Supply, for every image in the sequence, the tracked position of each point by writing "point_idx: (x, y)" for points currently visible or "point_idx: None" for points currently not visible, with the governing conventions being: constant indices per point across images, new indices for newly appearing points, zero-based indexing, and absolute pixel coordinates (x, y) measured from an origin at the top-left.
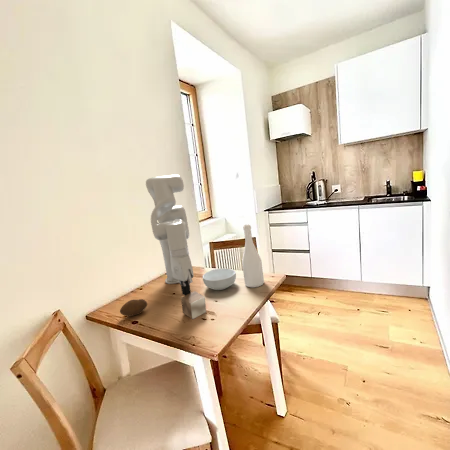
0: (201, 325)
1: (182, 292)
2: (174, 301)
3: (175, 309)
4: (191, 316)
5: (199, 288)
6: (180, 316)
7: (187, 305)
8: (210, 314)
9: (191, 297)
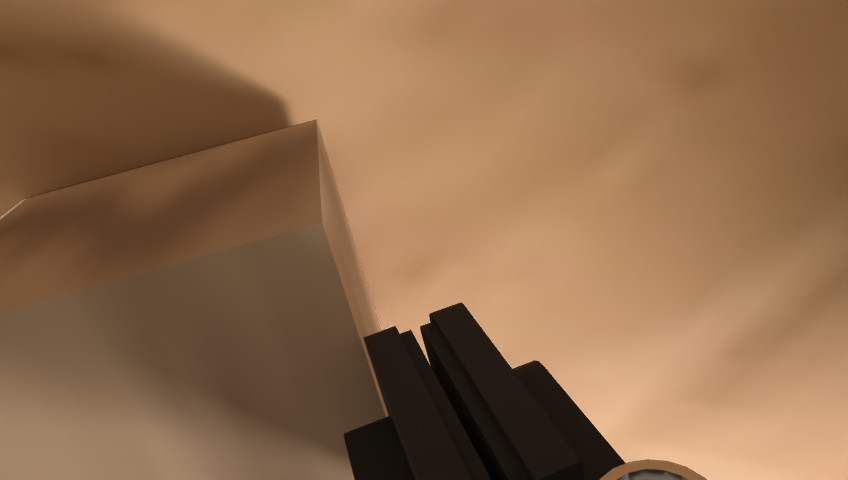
0: None
1: (462, 336)
2: (801, 118)
3: (564, 55)
4: (24, 208)
5: (828, 472)
6: (270, 54)
7: (57, 256)
8: None
9: (169, 450)
